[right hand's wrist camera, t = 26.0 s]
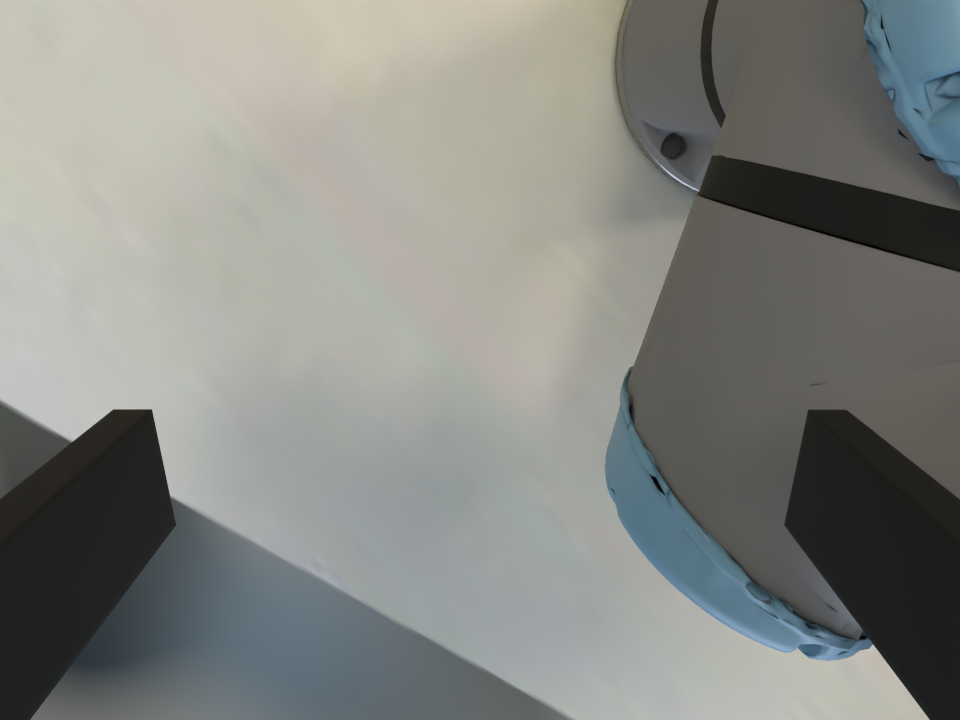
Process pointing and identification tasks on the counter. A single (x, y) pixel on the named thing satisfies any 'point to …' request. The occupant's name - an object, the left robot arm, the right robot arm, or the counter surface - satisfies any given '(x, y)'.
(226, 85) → the counter surface
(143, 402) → the counter surface
